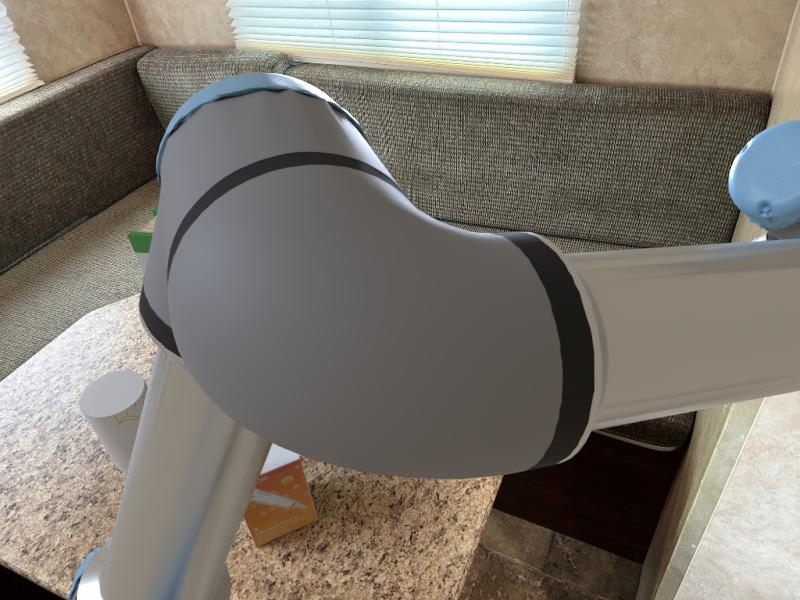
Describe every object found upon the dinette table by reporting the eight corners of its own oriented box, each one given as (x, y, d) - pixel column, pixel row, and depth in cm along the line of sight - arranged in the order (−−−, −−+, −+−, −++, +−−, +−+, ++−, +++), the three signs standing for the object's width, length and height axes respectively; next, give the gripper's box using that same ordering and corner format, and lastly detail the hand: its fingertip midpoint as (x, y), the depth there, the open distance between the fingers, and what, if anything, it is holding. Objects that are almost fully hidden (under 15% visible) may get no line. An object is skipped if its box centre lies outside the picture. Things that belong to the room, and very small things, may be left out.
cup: (150, 480, 82) (117, 423, 74) (102, 466, 84) (65, 410, 77) (184, 433, 88) (157, 376, 80) (138, 421, 90) (107, 365, 83)
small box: (256, 549, 73) (228, 488, 65) (244, 507, 78) (216, 444, 69) (320, 521, 75) (300, 457, 67) (304, 481, 80) (284, 418, 72)
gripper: (787, 412, 49) (577, 482, 63) (754, 245, 67) (597, 327, 81) (731, 354, 47) (528, 438, 61) (713, 198, 65) (559, 290, 79)
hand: (567, 375), depth 71 cm, fingers open, 13 cm apart
